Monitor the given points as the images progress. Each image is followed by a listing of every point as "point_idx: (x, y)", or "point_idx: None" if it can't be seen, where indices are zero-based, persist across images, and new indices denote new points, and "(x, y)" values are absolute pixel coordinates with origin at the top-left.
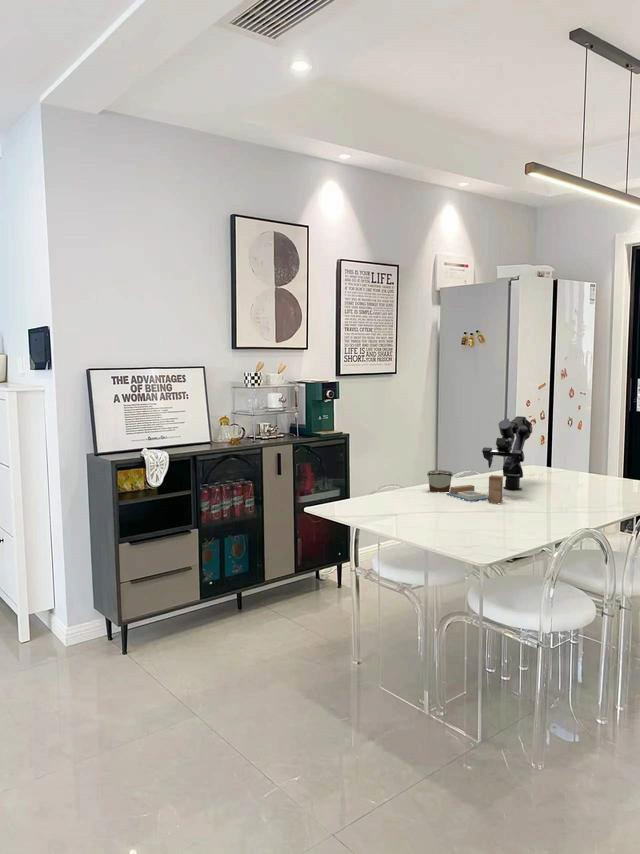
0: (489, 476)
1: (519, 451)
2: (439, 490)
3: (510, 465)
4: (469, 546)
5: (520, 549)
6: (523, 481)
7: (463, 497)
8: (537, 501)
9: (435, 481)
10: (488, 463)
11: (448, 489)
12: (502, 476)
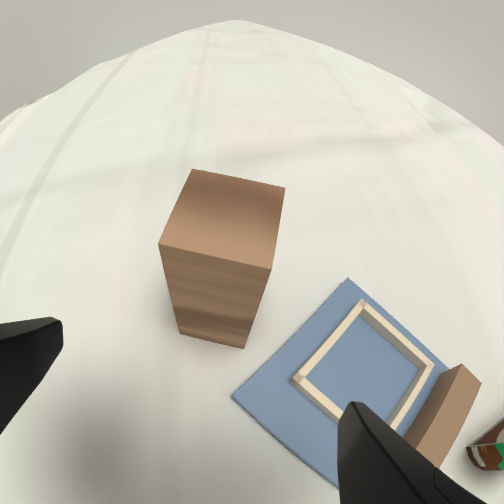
0: (283, 194)
1: None
2: (500, 424)
3: (14, 322)
4: (255, 31)
5: (188, 30)
6: None
7: (388, 320)
8: None
9: None
10: (393, 430)
11: (480, 444)
12: (164, 230)
